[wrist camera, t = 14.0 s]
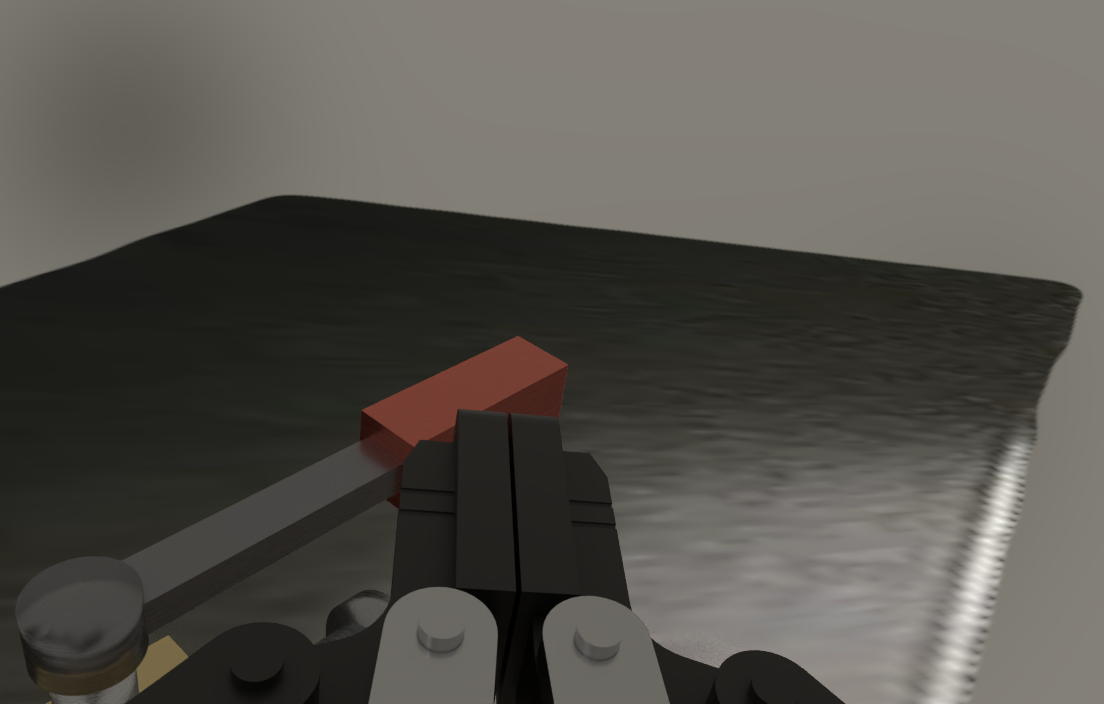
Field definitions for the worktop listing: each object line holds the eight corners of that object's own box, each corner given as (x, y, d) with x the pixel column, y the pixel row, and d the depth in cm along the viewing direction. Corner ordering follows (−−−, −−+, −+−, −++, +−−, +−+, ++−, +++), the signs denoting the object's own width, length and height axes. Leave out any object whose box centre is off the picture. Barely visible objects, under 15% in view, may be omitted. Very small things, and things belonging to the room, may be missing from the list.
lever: (64, 729, 25) (49, 649, 23) (8, 659, 26) (-10, 580, 25) (560, 429, 39) (572, 367, 37) (505, 395, 40) (514, 333, 39)
